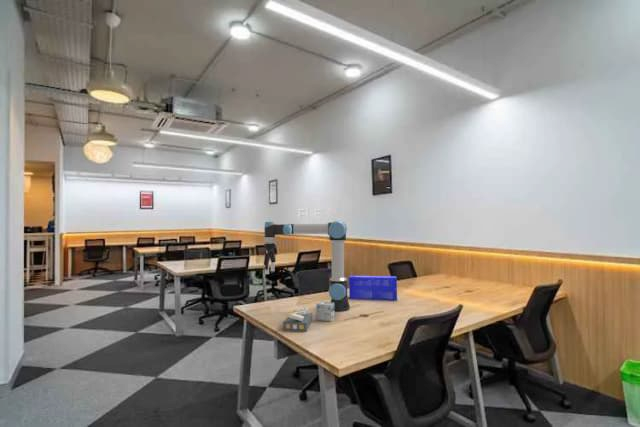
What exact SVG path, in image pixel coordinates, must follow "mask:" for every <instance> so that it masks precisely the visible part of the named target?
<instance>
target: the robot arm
mask: <svg viewBox="0 0 640 427" xmlns="http://www.w3.org/2000/svg"><path fill="white" fill-rule="evenodd" d="M263 228H264V238H263V240H264V249H266V250H265V251H264V252H265V253H264V258H263V260H264V261H263V266H264V274H265V275H269V274H270V272H275V271H276V270H275V264H276V262H277V261H276V254H275V249H276V236H279V235H280V236H281V235H282V236H291V235H328V236H329V237H328V238H329V240H328V241H329V242H330V243H331V277H330V278H329V288H328V295H329V296H330V298H331V299H330V302H331V303H334V312H347V311H349V310H351V308H350V307H351V305H350V302H349V300H348V278H347V277H345V242H346V241H347V229H348V228H347V224H345V222H343V221H340V220H335V221H333V222H327V223H286V224H282V223H281V224H279V223H278V224H276V222H275V221H265V222H264V227H263ZM269 263H270V264H269Z"/></svg>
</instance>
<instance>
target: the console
mask: <svg viewBox="0 0 640 427" xmlns="http://www.w3.org/2000/svg"><path fill="white" fill-rule="evenodd" d="M301 316H304V319H303V321H299V320H296V319H293V318H289V317H288V316H287V317H286V318H285V319H284V321H283V323H282V324H283V326H282V327H283V330H282V331H285V332H286V331H287V332H288V331H290V332H305V333H306V332H307V331H308V330H309V328H310V326H311V324H312V322H313V313H311V312H309V313H307V312H306V314H305V315H301Z"/></svg>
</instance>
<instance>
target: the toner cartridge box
mask: <svg viewBox="0 0 640 427" xmlns="http://www.w3.org/2000/svg"><path fill="white" fill-rule="evenodd" d="M348 281H349V282H348V288H349V295H348V297H349V299H350V300H377V301H380V300H383V301H384V300H385V301H398V284H397V283H398V282H397V281H398V279H397V276H396V275H393V276H392V275H389V276H388V275H386V276H384V275H350V276H349V278H348Z"/></svg>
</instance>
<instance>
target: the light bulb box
mask: <svg viewBox="0 0 640 427" xmlns="http://www.w3.org/2000/svg"><path fill="white" fill-rule="evenodd" d="M315 305H316V313H315V314H316V315H315V316H316V320H317V321H324V322H326V321H327V322H333V321H334V319H335V311H334V303H331V301H330V302H328V301H318V302H317V303H316V304H315Z"/></svg>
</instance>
